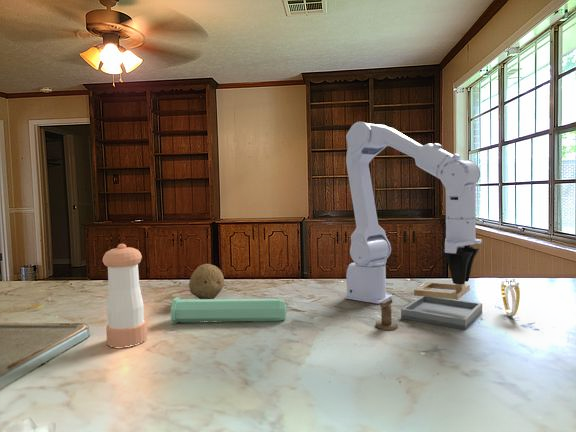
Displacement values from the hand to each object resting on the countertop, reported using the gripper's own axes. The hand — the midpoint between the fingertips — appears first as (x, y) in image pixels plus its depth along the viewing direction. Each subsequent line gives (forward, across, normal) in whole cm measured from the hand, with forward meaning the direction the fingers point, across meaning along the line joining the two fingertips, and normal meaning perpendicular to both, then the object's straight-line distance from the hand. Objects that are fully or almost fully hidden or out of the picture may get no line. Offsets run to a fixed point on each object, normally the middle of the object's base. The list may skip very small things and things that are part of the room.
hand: (460, 282), depth 86 cm
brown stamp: (+8, -13, +11) cm, 19 cm away
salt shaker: (+8, -48, +49) cm, 69 cm away
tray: (+8, 0, +4) cm, 9 cm away
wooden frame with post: (+3, 0, +4) cm, 5 cm away
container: (+8, -28, +41) cm, 50 cm away
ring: (+8, +7, -8) cm, 13 cm away
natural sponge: (+8, -21, +57) cm, 61 cm away
